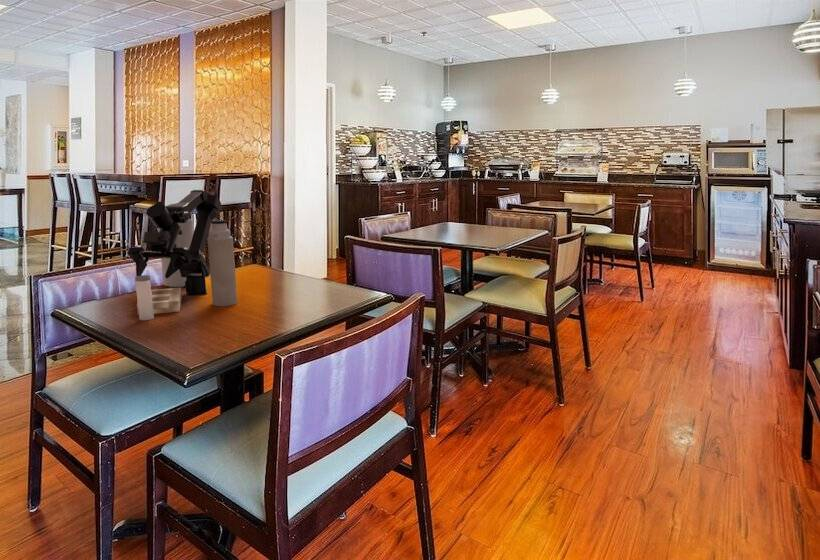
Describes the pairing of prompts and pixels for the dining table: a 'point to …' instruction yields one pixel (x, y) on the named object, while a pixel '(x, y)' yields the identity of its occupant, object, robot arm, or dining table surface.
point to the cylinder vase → (181, 241)
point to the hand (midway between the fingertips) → (151, 277)
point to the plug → (144, 297)
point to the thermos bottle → (222, 264)
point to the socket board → (166, 300)
